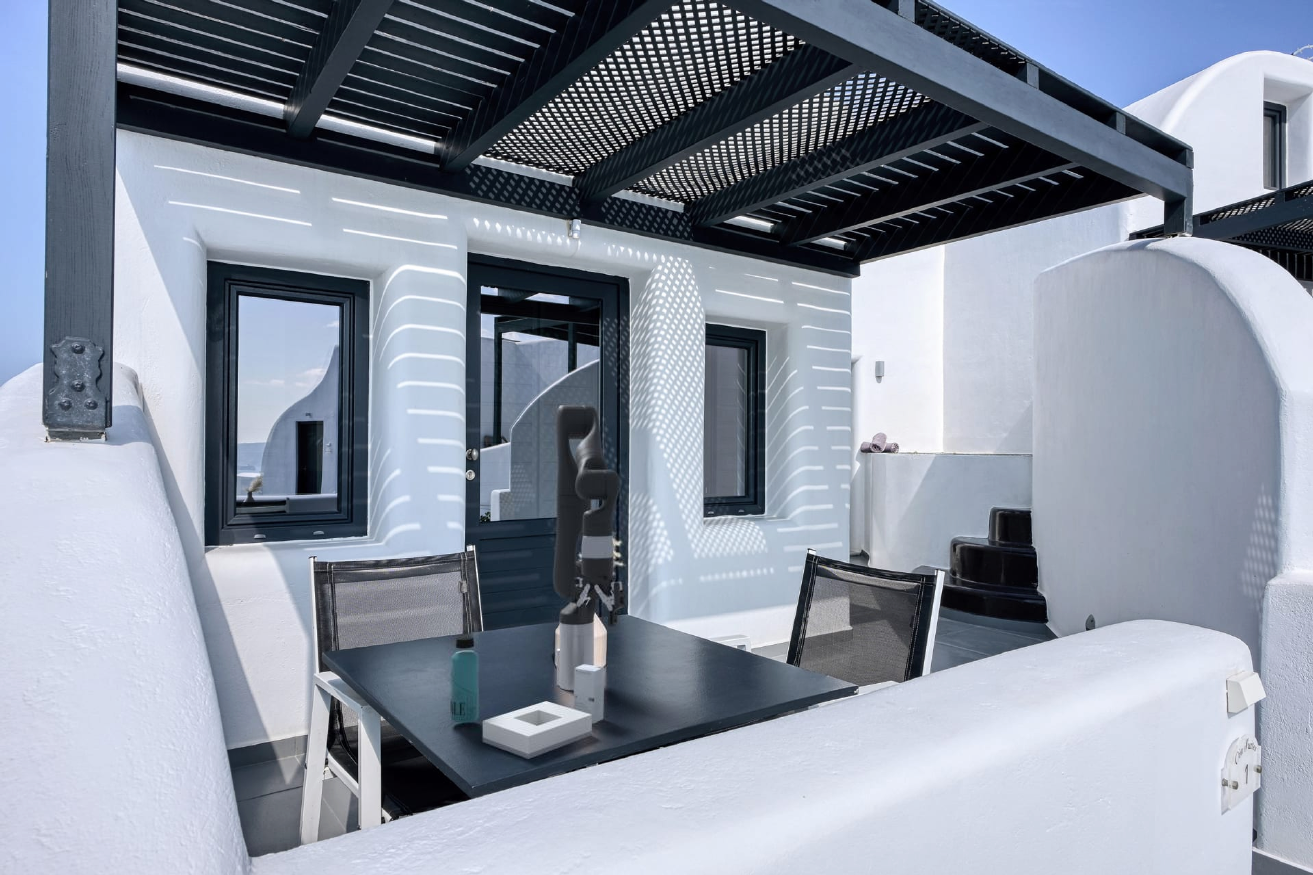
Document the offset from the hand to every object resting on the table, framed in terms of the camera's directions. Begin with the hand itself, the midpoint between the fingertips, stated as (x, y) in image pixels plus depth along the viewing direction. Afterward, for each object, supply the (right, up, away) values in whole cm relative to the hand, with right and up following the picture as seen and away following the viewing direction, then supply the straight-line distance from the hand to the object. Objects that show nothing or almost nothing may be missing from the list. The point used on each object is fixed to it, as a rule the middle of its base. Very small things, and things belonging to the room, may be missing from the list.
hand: (597, 624), depth 184 cm
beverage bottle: (-30, -22, -4) cm, 38 cm away
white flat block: (-12, -22, -13) cm, 28 cm away
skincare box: (-2, -22, -1) cm, 22 cm away
